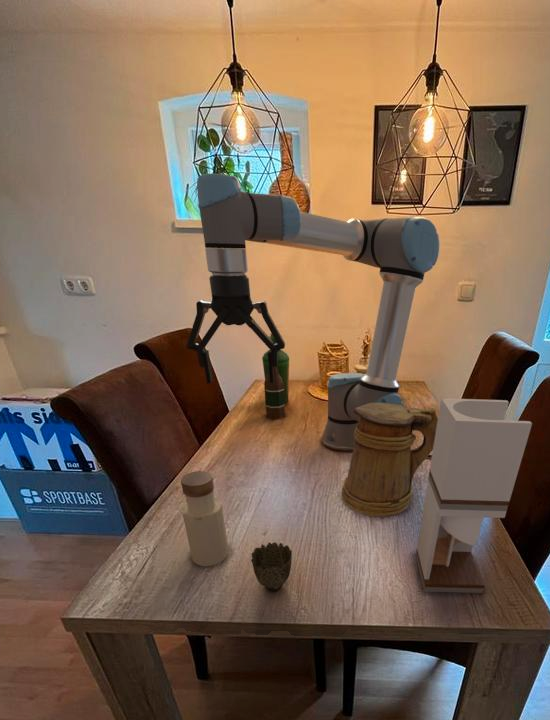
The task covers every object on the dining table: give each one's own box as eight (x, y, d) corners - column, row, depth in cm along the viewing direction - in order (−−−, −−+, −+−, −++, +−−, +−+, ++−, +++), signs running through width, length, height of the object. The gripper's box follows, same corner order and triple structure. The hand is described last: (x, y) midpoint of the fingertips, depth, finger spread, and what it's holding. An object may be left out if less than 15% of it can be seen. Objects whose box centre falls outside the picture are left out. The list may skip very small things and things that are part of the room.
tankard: (337, 482, 111) (339, 396, 99) (417, 479, 114) (430, 395, 102) (346, 519, 96) (350, 423, 83) (438, 515, 99) (456, 421, 86)
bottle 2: (295, 400, 170) (292, 332, 156) (283, 408, 162) (280, 336, 147) (273, 397, 173) (268, 330, 159) (260, 404, 164) (255, 334, 150)
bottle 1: (231, 542, 87) (221, 479, 79) (225, 565, 81) (214, 499, 72) (196, 543, 86) (184, 480, 78) (188, 566, 80) (173, 500, 72)
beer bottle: (281, 420, 151) (278, 355, 138) (262, 417, 152) (257, 353, 140) (288, 413, 157) (285, 351, 145) (269, 411, 158) (265, 349, 146)
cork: (219, 499, 80) (214, 470, 77) (213, 515, 75) (208, 485, 72) (190, 499, 79) (185, 471, 76) (183, 515, 75) (176, 486, 71)
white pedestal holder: (424, 591, 76) (456, 420, 59) (415, 555, 85) (441, 398, 68) (482, 592, 77) (532, 423, 59) (468, 556, 86) (507, 400, 68)
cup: (256, 573, 79) (253, 541, 75) (293, 572, 80) (292, 540, 76) (252, 601, 73) (248, 569, 68) (292, 600, 73) (291, 567, 69)
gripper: (292, 274, 82) (297, 376, 93) (168, 272, 79) (187, 377, 90) (292, 276, 76) (297, 385, 86) (156, 274, 73) (179, 387, 84)
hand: (241, 381), depth 88 cm, fingers open, 13 cm apart
